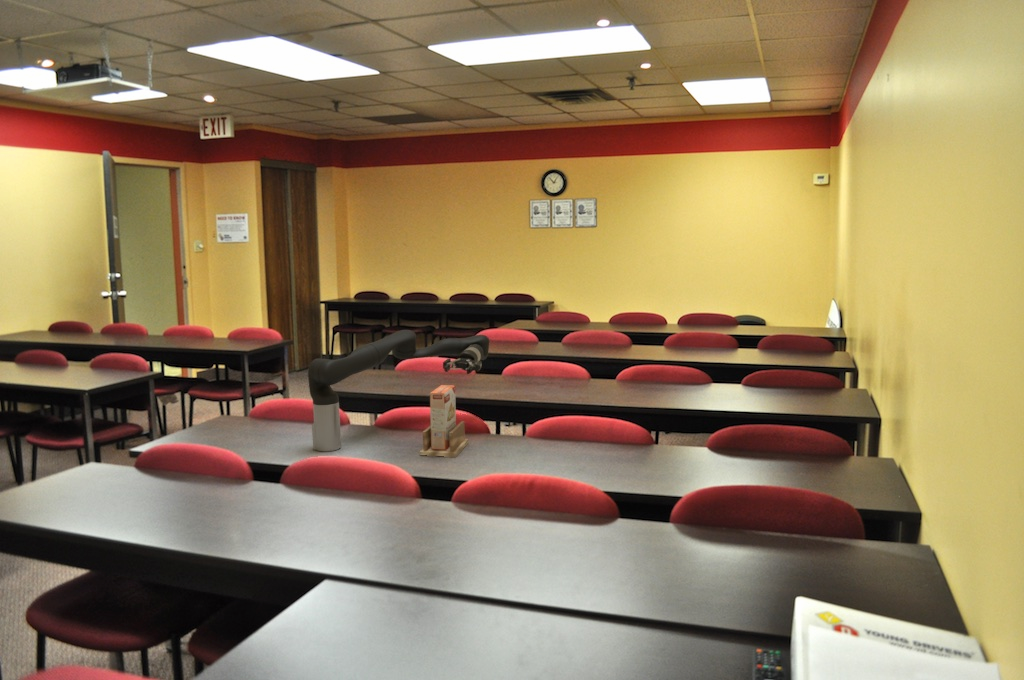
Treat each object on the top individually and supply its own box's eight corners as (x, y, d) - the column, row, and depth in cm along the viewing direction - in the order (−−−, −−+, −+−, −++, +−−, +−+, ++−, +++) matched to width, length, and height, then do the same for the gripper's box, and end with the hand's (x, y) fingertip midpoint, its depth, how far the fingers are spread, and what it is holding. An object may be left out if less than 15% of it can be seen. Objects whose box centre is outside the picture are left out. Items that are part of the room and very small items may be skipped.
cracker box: (446, 450, 273) (445, 393, 270) (430, 450, 274) (428, 392, 271) (457, 439, 287) (455, 384, 283) (441, 439, 288) (440, 384, 285)
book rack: (419, 455, 273) (418, 432, 271) (434, 441, 290) (434, 419, 289) (455, 457, 270) (454, 433, 269) (468, 442, 288) (467, 420, 286)
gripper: (451, 348, 306) (438, 359, 291) (486, 350, 303) (475, 362, 287) (452, 366, 308) (439, 378, 293) (486, 369, 305) (475, 381, 289)
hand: (456, 370), depth 290 cm, fingers open, 8 cm apart
